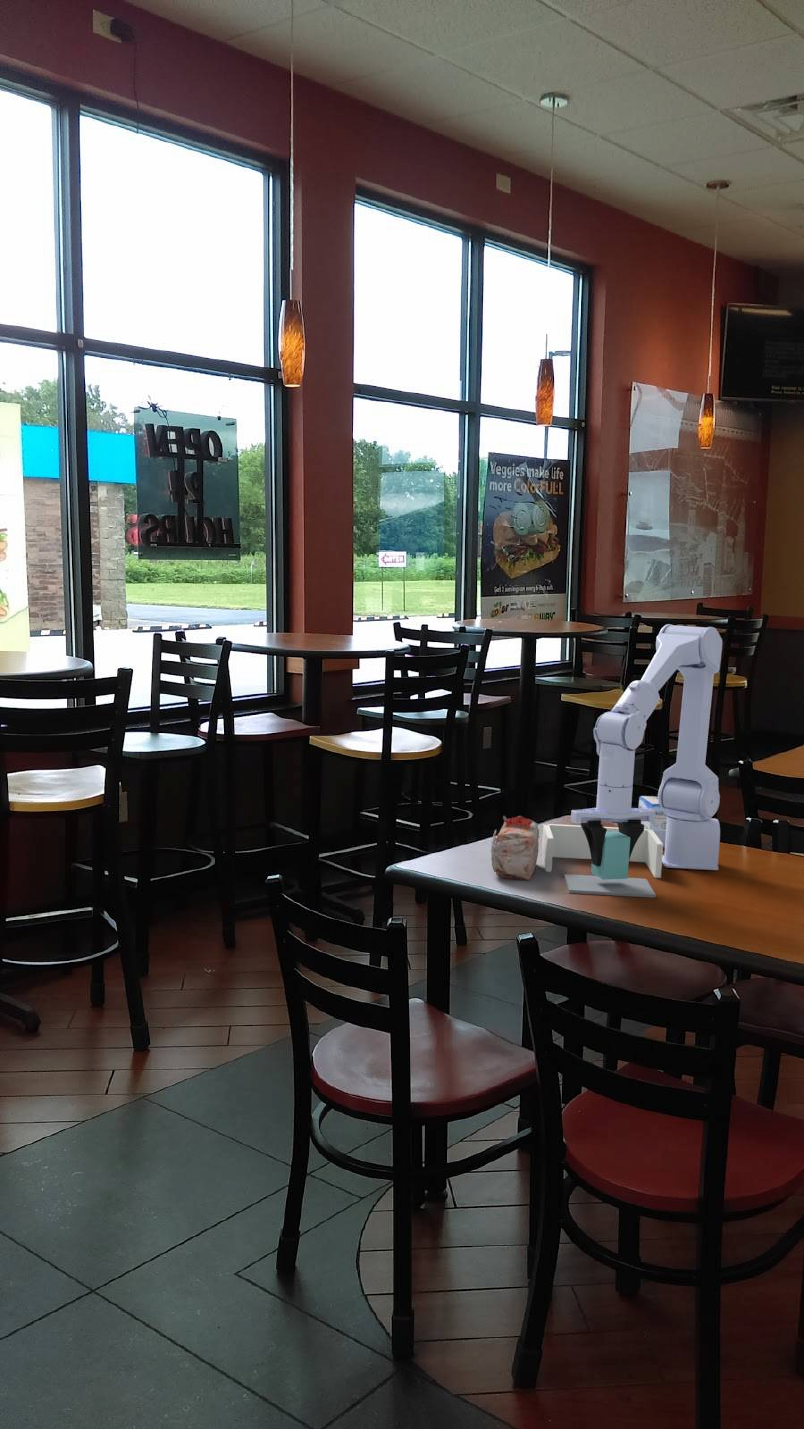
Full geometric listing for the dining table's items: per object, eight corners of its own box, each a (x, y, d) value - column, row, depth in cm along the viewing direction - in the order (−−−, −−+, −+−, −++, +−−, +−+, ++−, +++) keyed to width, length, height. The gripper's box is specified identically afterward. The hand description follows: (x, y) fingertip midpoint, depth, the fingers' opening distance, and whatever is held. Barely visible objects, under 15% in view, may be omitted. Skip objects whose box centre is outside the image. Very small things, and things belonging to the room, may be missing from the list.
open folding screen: (650, 861, 209) (652, 829, 209) (660, 877, 197) (663, 844, 197) (541, 855, 210) (543, 823, 210) (545, 871, 198) (547, 838, 198)
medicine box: (635, 837, 229) (638, 795, 228) (656, 838, 229) (659, 796, 228) (648, 847, 221) (651, 803, 220) (670, 847, 221) (673, 804, 220)
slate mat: (646, 881, 195) (646, 878, 194) (655, 897, 185) (655, 894, 185) (564, 876, 195) (564, 874, 195) (569, 892, 185) (569, 889, 185)
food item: (535, 883, 191) (538, 826, 190) (488, 879, 192) (491, 822, 191) (539, 864, 204) (542, 810, 203) (494, 860, 205) (497, 807, 204)
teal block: (615, 871, 193) (617, 831, 192) (627, 878, 188) (630, 837, 187) (591, 872, 191) (593, 832, 190) (603, 879, 187) (605, 838, 186)
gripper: (642, 779, 194) (637, 857, 195) (565, 780, 190) (560, 859, 191) (663, 787, 187) (657, 867, 189) (583, 788, 183) (578, 870, 185)
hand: (610, 864), depth 190 cm, fingers closed on teal block, 4 cm apart
